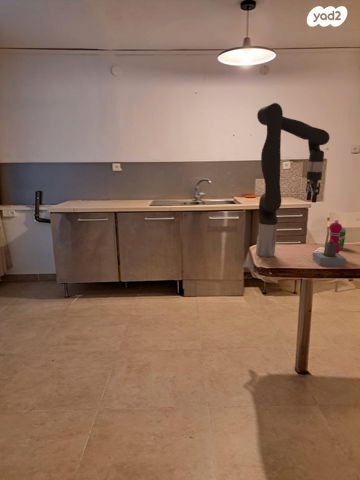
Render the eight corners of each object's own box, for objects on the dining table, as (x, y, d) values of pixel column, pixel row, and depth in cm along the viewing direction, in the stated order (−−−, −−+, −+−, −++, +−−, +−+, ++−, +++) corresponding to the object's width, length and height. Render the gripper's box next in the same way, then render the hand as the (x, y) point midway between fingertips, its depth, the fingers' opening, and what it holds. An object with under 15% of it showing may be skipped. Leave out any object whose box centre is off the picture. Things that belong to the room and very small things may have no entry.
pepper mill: (340, 259, 162) (346, 221, 157) (325, 258, 163) (331, 220, 158) (336, 255, 169) (342, 219, 164) (322, 254, 170) (327, 218, 165)
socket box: (319, 265, 152) (320, 257, 151) (312, 259, 161) (314, 251, 160) (344, 266, 151) (345, 257, 150) (336, 260, 160) (338, 252, 159)
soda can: (327, 245, 188) (329, 226, 185) (339, 246, 188) (342, 226, 185) (332, 249, 181) (335, 229, 178) (345, 249, 181) (348, 229, 178)
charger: (325, 264, 154) (329, 240, 151) (322, 261, 158) (325, 238, 155) (334, 264, 154) (337, 240, 151) (330, 261, 158) (334, 238, 155)
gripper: (303, 170, 172) (300, 199, 176) (312, 171, 159) (308, 203, 163) (317, 170, 172) (313, 200, 176) (327, 171, 158) (323, 203, 162)
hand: (311, 201), depth 169 cm, fingers open, 8 cm apart
